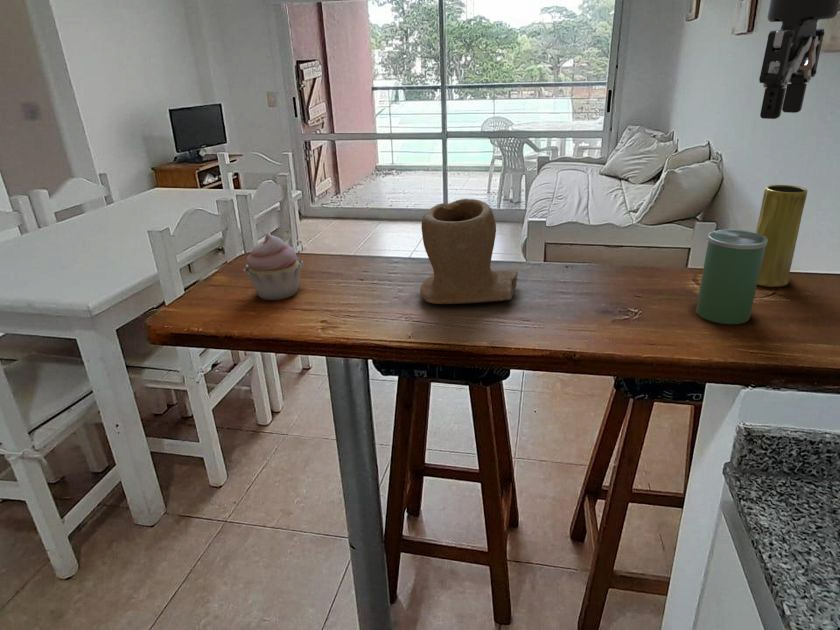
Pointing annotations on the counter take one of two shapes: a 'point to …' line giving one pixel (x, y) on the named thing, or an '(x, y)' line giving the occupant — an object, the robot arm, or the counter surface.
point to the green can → (730, 276)
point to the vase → (779, 231)
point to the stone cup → (463, 255)
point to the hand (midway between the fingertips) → (780, 115)
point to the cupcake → (274, 269)
